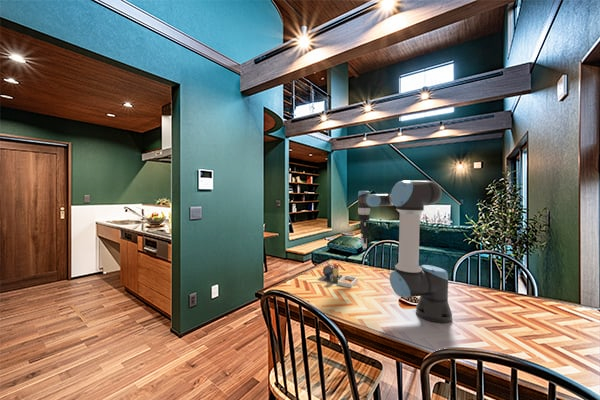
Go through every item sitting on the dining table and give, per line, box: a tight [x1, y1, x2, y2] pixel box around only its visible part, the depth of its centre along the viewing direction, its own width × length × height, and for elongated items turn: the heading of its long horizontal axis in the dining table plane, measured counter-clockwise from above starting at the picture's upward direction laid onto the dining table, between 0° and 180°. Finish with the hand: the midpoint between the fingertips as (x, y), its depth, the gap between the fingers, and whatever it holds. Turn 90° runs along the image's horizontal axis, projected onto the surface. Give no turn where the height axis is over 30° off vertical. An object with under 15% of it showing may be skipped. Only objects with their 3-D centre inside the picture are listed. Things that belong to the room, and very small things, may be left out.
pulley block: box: [317, 264, 343, 285], centre depth 162 cm, size 13×15×9 cm
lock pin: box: [332, 263, 340, 282], centre depth 158 cm, size 3×3×11 cm
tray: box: [337, 275, 359, 288], centre depth 155 cm, size 13×9×3 cm
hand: (363, 245), depth 160 cm, fingers open, 13 cm apart
